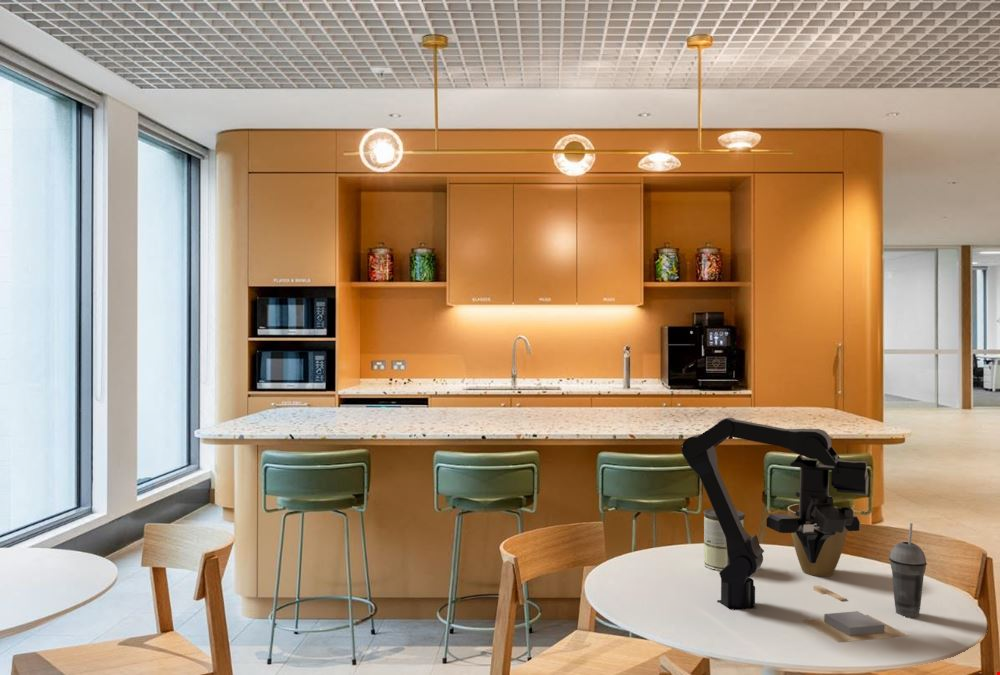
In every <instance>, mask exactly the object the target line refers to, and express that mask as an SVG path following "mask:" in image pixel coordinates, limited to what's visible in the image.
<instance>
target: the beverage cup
mask: <svg viewBox="0 0 1000 675" xmlns="http://www.w3.org/2000/svg"><path fill="white" fill-rule="evenodd" d="M908 532H909V534H908V541H902V542H899V543H897V544H896V545H895V546H893V547H892V549H891V551H890V555H889V559H888V560H889V561H890V568H891V572H892V573H891V574H892V587H893V598H894V607H895V614H897V615H900V616H902V617H904V616H905V618H908V617H917V618H919V617H920V610H921V604H922V594H923V586H924V575H925V573H926V566H927V564H928V563H927V559H926V555H925V553H924V551H923V549H921V547H920V546H919V545H918V544H916V543H913V542H912V536H913V523H912V522H910V523H909V531H908ZM918 616H919V617H918Z"/></svg>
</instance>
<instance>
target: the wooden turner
mask: <svg viewBox="0 0 1000 675" xmlns="http://www.w3.org/2000/svg"><path fill="white" fill-rule="evenodd" d="M813 591H815V592H817V593H818V594H821V595H828V596H830V597H831V598H834V599H836V600H838V601H840V602H848V598H847V597H844V596H842V595H840V594H838V593H836V592H834V591H832V590H829V589H828V588H825V587H823V586H822V585H813Z"/></svg>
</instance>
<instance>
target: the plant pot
mask: <svg viewBox="0 0 1000 675" xmlns="http://www.w3.org/2000/svg"><path fill="white" fill-rule="evenodd" d="M834 507H835V508H838V507H837V506H834ZM796 511H799V503H795V504H791V505H789V506H787V515H789V516H791V517H794V518H799V516H796ZM806 523H810V522H806ZM835 533H836V534H835V535H832V536H830V537H829V538H827V539H826V541H825V542H824V544H823V546H822V548H821V551H820V553H819V555H818V558H817V560H816V563H810V562H809V560H808V558H807V556H806V553H805V551H804V548H803V546H802V544H801V541H800V540H799V538H798V536H797V534H796V532H795V533H790V534H791V539H792V543H793V547H794V551H795V553H796V557H797V560H798V563H799V565H800V569H801V570H802V572H803V573H804V574H807V575H810V576H815V577H831V576H832V575H834V572H835V571H836V568H837V566H838V564H839V561H840V558H841V556H842V553H843V549H844V547H845V543H846V539H847V535H848V531H847V530H846V529H845V528H844V531H843V532H842V533H839V532H835Z"/></svg>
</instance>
